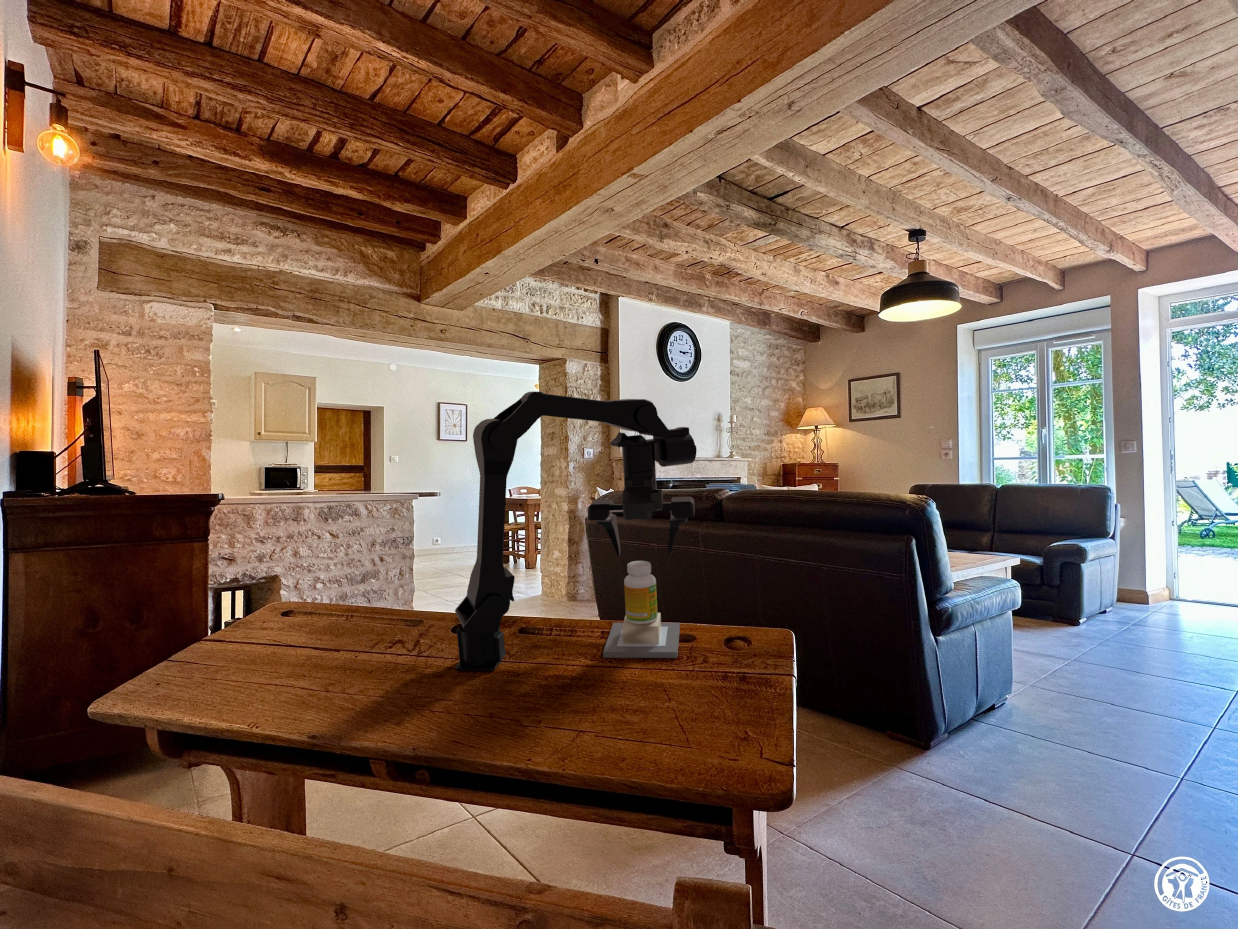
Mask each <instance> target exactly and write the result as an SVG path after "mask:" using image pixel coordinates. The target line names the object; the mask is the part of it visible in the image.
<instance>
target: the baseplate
mask: <svg viewBox="0 0 1238 929" xmlns="http://www.w3.org/2000/svg"><path fill="white" fill-rule="evenodd" d="M622 625H623V622H613V624H612V626H611V629H610V631H609V635H608V637H607V640H606V642H605V645H604V649H603V651H602V658H606V659H607V658H613V659H614V658H616V659H622V658H624V659H625V658H627V659H629V658H630V659H634V658H635V659H641V658H642V659H677V658H678V655H679V654H678V652H679V643H680V642H679V640H680V629H681V623H680V622H661V634H660V641H659V644H623V633H622Z"/></svg>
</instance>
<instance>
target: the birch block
mask: <svg viewBox="0 0 1238 929" xmlns="http://www.w3.org/2000/svg"><path fill="white" fill-rule="evenodd" d="M657 613H658V617H657V620H656V621H654V622H652V623H649V624H632V623H630V622H628V621H627V619H626V615H625V616H624V619H623V622H622V623H623V625H622V633H623V644H659V641H660V634H661V623H662V616H661V612H657Z"/></svg>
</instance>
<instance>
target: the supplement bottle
mask: <svg viewBox="0 0 1238 929" xmlns="http://www.w3.org/2000/svg"><path fill="white" fill-rule="evenodd" d="M626 568H627V574H628V575H626V576H625V578H624V580H623V583H624V584H623V587H624V604H625V605H624V606H625V616H626V619H627V621H628V622H630V623H632V624H649V623H652V622H654V621H656V620H657V617H658V613H659V612H658V599H657V598H658V596H657V579H656V577H655V576H654V575H653V574H651V573H652V564H651V562H650V561H646V560H634V561H630V562H629V563H627V566H626Z"/></svg>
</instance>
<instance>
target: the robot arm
mask: <svg viewBox="0 0 1238 929" xmlns="http://www.w3.org/2000/svg"><path fill="white" fill-rule="evenodd" d="M543 416H544V417H545V416H546V417H551V418H552V417H553V418H563V419H571V420H572V419H573V420H582V421H591V422H598V423H601V424H604V425H607V426H610V427H613V428H616V429H620V430H624V431H628V432H635V433H638V434H636V435H635V434H633V435H627V434H626V433H625V432H618V433H617V435H616V436H615V437H614V438H613V439H612V440H611V441H610V443H609V444H610V446H611V447H615V448H621V451H622V455H621V456H622V469H623V483H624V484H623V485H624V486H623V491H622V495H621V497H622V499H621V500H622V501H621V503H614V498H604V499H603V498H602V499H600V498H599V499H594V500H593V501H592V502H591V503H590V504H589V505H588V507H587V520H588V521H591V522H593V521H594V522H595V524H596V525H598V526H601V527H602V528H604V530H605V531H606V533H607V535H608V537H609V538H610V539H609V540H610V541H611V544H612V546H613V549H614V551H615V553H616V556H618V557H620V556H621V543H620V542H621V541H620V534H619V528H618V520H617V515H623V516H622V517H623V519H624V520H626V521H632V520H643V521H644V520H645V521H646V520H649V519H651V518H652V517H653V514H668V513H670V520H669V527H668V528H669V529H668V530H669V531H668V541H667V553H668V554H667V555H668V556H671V554H672V550H673V547H674V543H675V539H676V535H677V532H678V530H679V528H680V526H681V524H682V523H683V524H684V523H687V521H688V519H692V518H695V499H694V498H693V497H692V496H672V497H671V502H670V501H668V502H666V501H664V494H663V489H662V488H657V472H656V470H657V469H656V462H657V463H658V465H659V466H661V467H663V468H664V467H666V468H667V467H672V466H673V467H674V466H681V465H682V466H683V465H688V464H689V465H690V464H692V463H694V461H696V460H695V459H696V457H697V452H698V451H697V445H696V443H695V440H694V437H693V436H692V435H691V433H690V428H689V427H687V426H678V427H675V428H668V427H667V426H666V424H665V423H664V421H663V420H662V419H661V417H660V416H659V415H658V410H657V407H656V405H655V404H654V402H653V401H651V400H649V399H646V398H645V399H644V398H643V399H641V398H624V399H611V400H598V399H591V398H590V399H589V398H583V397H575V396H574V397H573V396H565V395H558V394H552V393H551V394H550V393H544V392H543V391H528V392H526V393H524V394H523V395H522V396H521V398H519V399H518V400H516V401H515V402H514V403H512V404H511V405H509V406H508V407H507V408H505V409H504V410H502V411H501V412H499V413H498V414H497V415H496V416H495V417H493V418H486V419H483V420H480V422H479V423H478V424H476V425H475V427H474V429H473V435H472V439H473V447H474V452H475V454H474V455H475V458H476V463H477V468H478V472H479V492H478V493H479V495H478V496H479V498H478V515H477V516H478V518H477V540H476V542H477V546H476V560H475V563H474V566H473V568H472V571H471V573H470V576H469V581H468V584H467V590H466V595H465V597H464V598H463V600H462V601H461V602H460V603H459V604H458V605H457V607H456V608H455V609H454V612H455V614H456V616H457V618H458V620H459V622H460V624H461V625H460V626H459V627H458V628H457V629H456V638H457V640H456V641H457V649H458V650H457V651H458V658H459V660H458V663H457V665H455V671H480V672H481V671H487V672H489V671H495V670H496V668H497V667H498V666H499V664H500V663H501V662H502V660H503V658H504V657H505V656H506V655H507V651H506V648H505V637H504V636H505V635H504V632H503V631H501V623H502V618H503V617H504V616H505V615H506V614H507V613H508V612H509V610H510V606H511V602H515V598H514V593H513V589H514V586H515V585H514V584H515V575H513V573H512V572H511V571H510V570H509V569H508V568H507V567H505V566H504V545H505V542H504V541H505V522H506V501H507V500H506V498H507V478H508V474H509V472H510V469H511V467H512V465H513V461H514V458H515V454H516V448H517V444H518V440H519V439H520V438H521V437H522V436H523V435H525V434H526V433H527V432H528V431H529V430H530V429H531V428H532V426H533V425H534V424H535V423H536V422H538V420H539V419H540V418H541V417H543ZM644 436H649V437H650V436H652V438H648V439H646V438H645V437H644Z"/></svg>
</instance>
